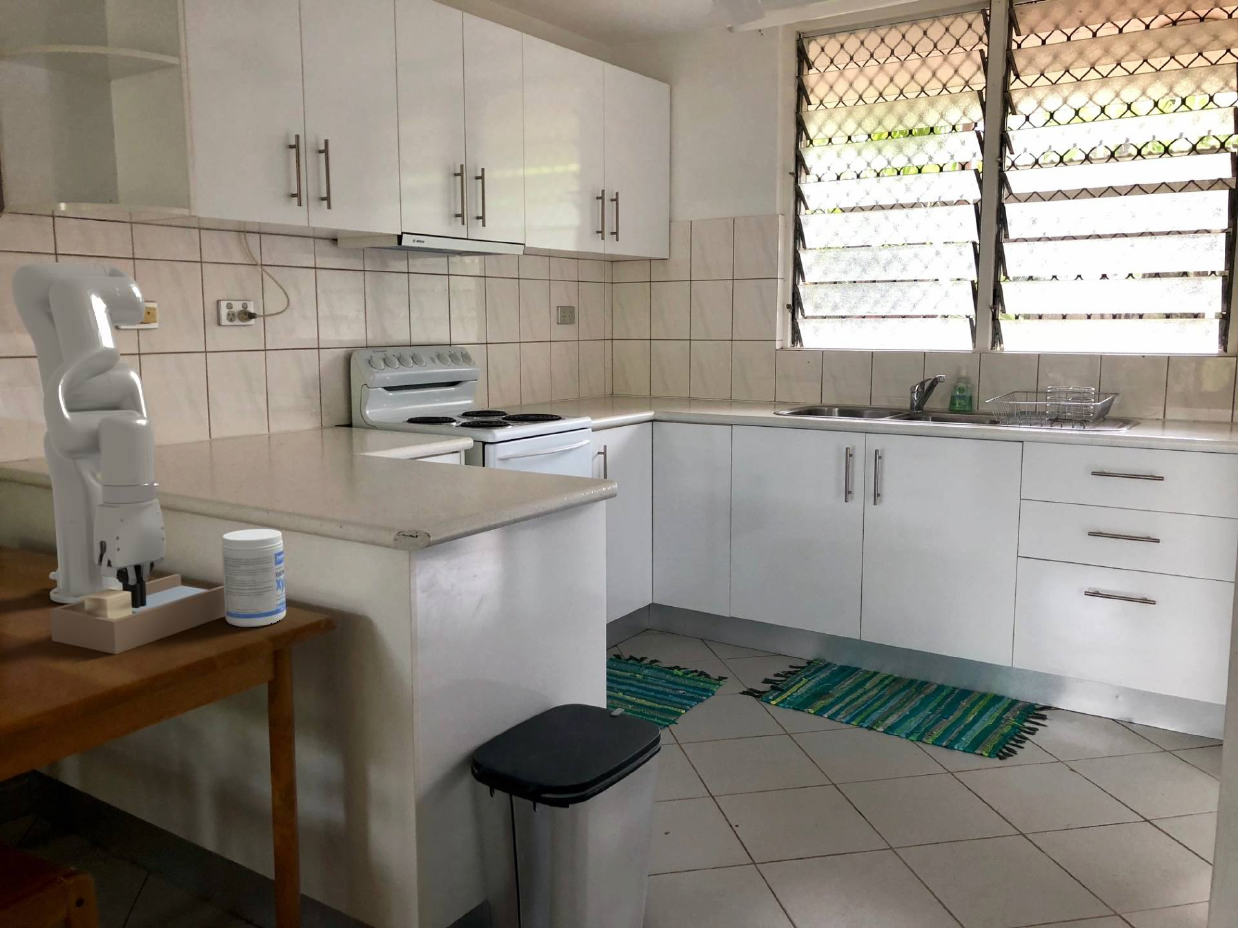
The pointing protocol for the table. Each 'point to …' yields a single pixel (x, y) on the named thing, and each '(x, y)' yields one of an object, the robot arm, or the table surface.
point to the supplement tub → (253, 577)
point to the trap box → (139, 617)
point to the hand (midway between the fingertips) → (135, 605)
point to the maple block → (109, 603)
